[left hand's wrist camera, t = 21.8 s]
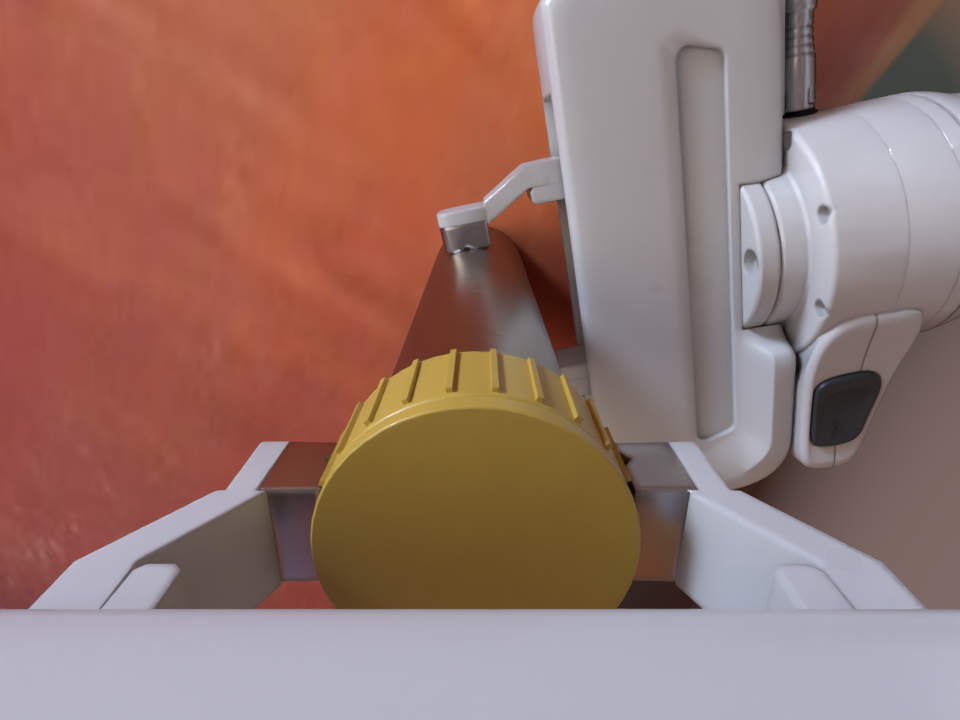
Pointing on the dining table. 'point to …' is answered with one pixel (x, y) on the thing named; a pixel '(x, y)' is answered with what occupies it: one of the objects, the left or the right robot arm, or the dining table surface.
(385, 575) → the lid
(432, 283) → the grey metal cylinder
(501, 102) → the dining table surface
